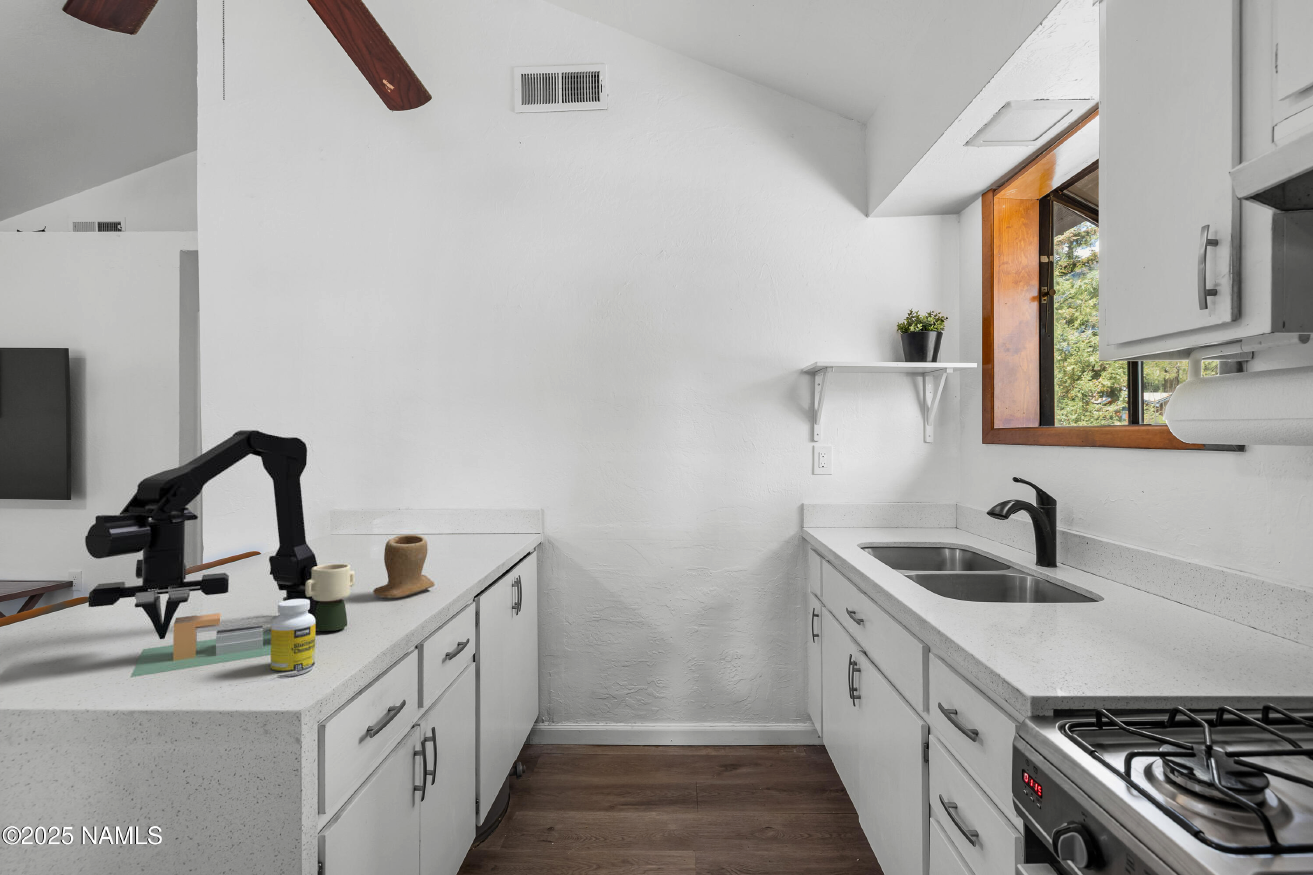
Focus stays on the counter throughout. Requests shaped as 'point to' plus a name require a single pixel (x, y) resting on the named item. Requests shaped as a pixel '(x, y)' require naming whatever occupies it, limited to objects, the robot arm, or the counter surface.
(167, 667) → the heatsink board
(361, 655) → the counter surface
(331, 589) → the character mug
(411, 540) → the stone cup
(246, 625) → the flat grey bar
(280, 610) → the pill bottle
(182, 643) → the orange stepped block
